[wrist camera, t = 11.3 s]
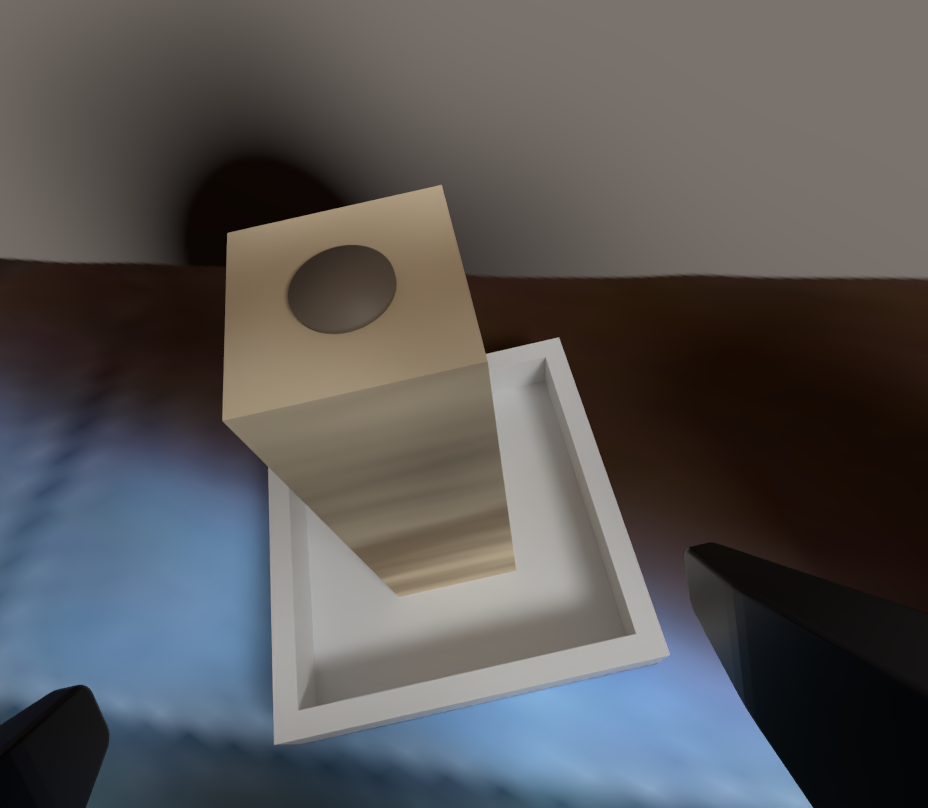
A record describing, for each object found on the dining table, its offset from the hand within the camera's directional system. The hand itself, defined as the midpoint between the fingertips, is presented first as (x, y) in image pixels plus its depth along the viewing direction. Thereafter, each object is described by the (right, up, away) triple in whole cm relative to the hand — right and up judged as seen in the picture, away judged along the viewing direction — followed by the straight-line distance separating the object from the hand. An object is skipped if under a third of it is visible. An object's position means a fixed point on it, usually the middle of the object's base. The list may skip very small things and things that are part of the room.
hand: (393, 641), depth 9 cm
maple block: (0, -1, +14) cm, 14 cm away
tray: (0, -2, +15) cm, 15 cm away
